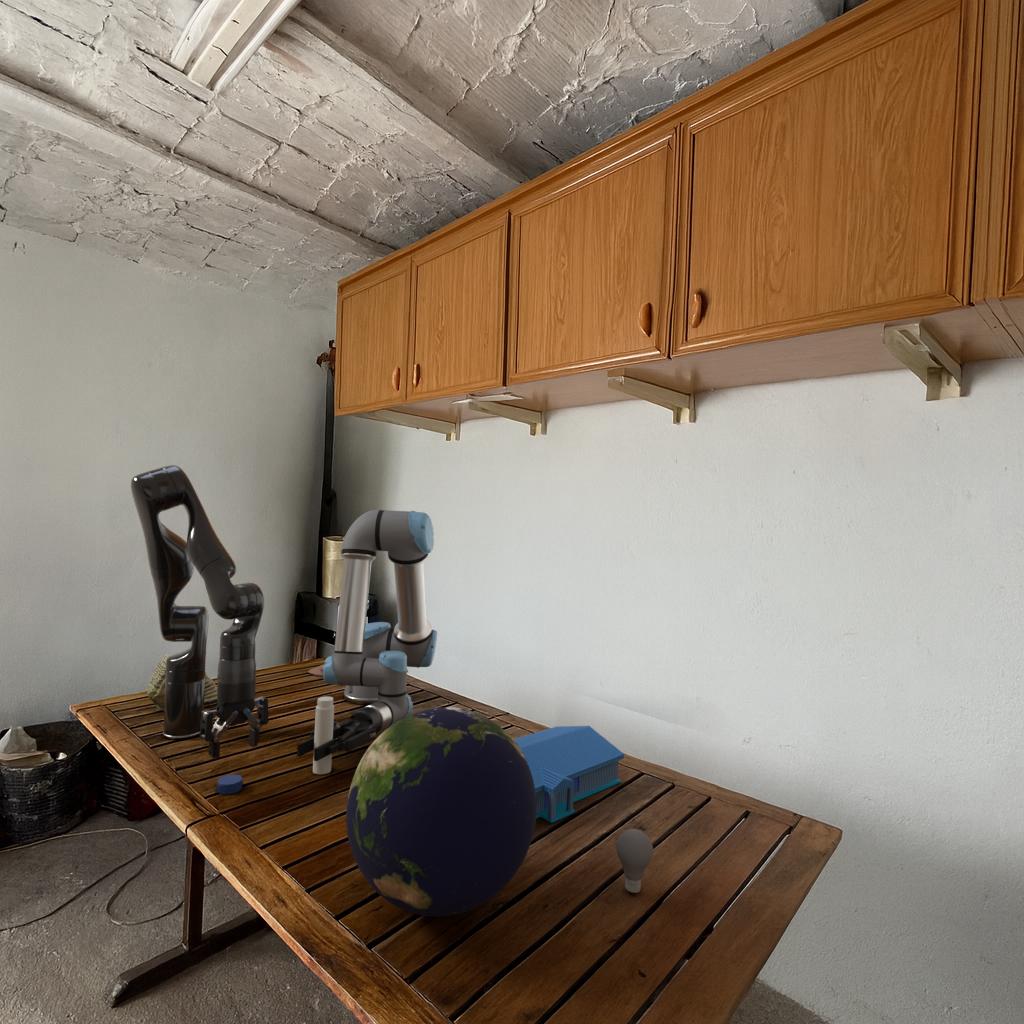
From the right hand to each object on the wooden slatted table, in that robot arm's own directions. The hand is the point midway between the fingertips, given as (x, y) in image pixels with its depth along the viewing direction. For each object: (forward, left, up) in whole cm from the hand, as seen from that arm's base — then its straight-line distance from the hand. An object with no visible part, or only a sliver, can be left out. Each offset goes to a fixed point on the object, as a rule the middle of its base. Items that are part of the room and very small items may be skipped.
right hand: (307, 752), depth 141 cm
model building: (+2, +51, -6) cm, 51 cm away
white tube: (-5, +2, -6) cm, 8 cm away
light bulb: (+38, +65, -6) cm, 76 cm away
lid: (+5, -15, -4) cm, 16 cm away
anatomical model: (-86, -17, -6) cm, 88 cm away
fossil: (-45, -49, -6) cm, 67 cm away
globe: (+41, +33, -6) cm, 53 cm away
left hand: (+5, -14, +2) cm, 15 cm away
